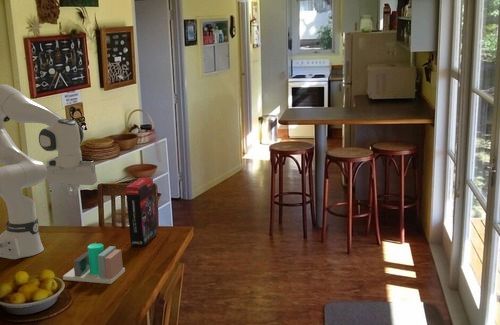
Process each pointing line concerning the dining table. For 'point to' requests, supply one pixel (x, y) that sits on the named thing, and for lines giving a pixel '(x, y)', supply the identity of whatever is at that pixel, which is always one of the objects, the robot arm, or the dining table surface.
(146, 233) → the graphics card box
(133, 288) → the dining table surface
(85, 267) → the bookend
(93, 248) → the candle
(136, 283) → the dining table surface
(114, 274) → the white base with blocks
